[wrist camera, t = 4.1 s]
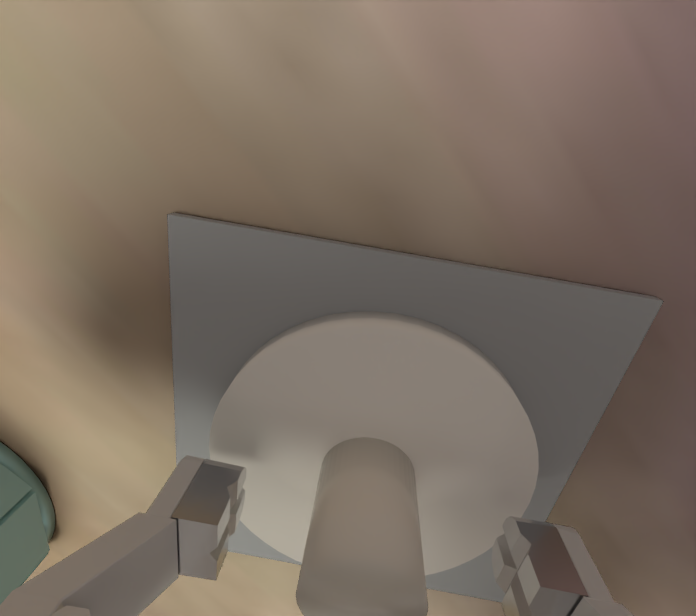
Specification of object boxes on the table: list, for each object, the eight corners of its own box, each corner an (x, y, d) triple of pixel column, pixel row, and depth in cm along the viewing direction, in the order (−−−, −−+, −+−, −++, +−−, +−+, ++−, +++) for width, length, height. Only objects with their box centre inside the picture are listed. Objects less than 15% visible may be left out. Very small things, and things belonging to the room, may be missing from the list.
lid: (573, 341, 9) (710, 475, 5) (477, 569, 13) (517, 749, 9) (223, 285, 10) (113, 375, 6) (222, 523, 13) (155, 679, 9)
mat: (655, 296, 9) (664, 301, 9) (499, 593, 14) (501, 602, 13) (173, 212, 9) (167, 214, 9) (183, 534, 14) (179, 542, 14)
